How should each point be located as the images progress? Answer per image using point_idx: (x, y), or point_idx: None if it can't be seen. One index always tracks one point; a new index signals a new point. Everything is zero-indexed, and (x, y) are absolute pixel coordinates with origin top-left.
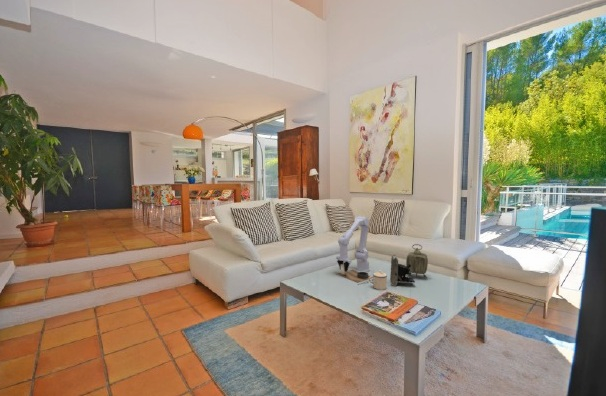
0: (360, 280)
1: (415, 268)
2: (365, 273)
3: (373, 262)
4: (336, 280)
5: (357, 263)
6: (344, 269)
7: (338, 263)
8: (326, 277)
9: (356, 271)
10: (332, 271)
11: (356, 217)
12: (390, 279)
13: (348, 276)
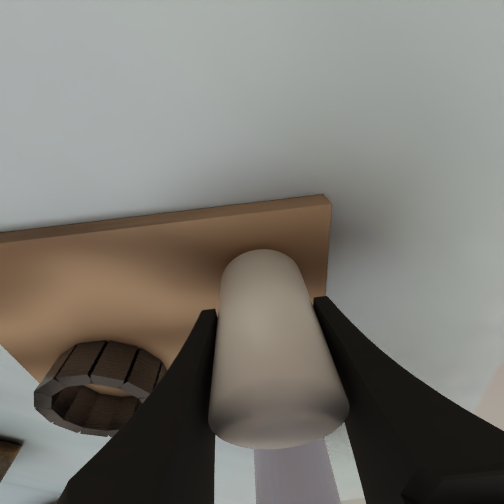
0: (6, 318)
1: None
2: (120, 421)
3: (344, 486)
4: (180, 86)
5: (311, 482)
6: (217, 332)
7: (412, 389)
8: (397, 5)
9: None
10: (469, 253)
11: None
12: (1, 458)
13: (178, 287)
